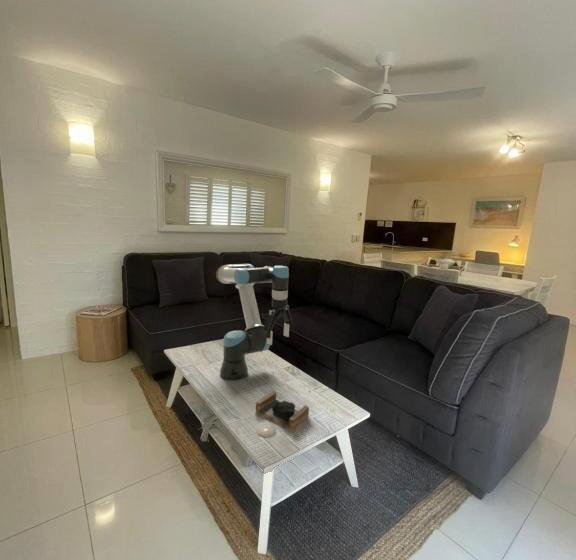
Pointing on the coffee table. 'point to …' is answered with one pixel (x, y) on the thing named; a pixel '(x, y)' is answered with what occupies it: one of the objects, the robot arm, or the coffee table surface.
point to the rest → (266, 411)
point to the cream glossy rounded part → (266, 430)
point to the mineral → (283, 409)
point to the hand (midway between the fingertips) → (278, 340)
